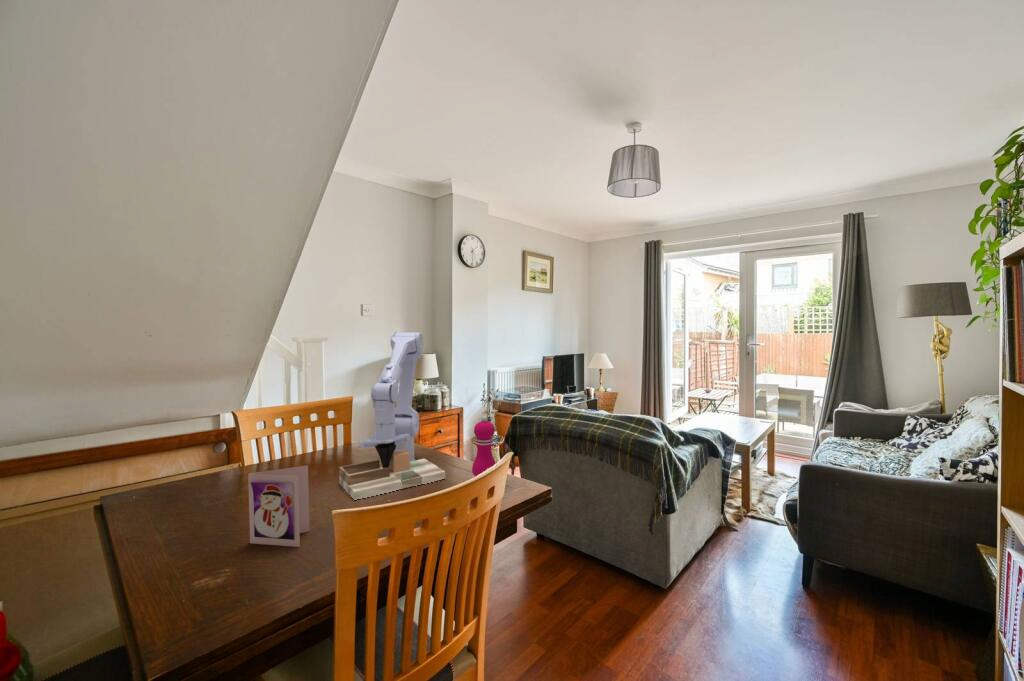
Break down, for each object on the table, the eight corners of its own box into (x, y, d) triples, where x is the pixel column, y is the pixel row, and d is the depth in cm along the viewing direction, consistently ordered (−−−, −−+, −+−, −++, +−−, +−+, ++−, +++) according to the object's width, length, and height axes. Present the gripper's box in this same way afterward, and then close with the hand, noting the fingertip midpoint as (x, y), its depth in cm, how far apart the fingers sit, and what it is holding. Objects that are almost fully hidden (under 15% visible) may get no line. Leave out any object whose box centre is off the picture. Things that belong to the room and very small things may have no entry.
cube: (388, 468, 131) (388, 451, 131) (404, 465, 134) (403, 449, 134) (394, 472, 127) (394, 456, 127) (410, 469, 130) (410, 453, 130)
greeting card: (247, 545, 91) (245, 475, 90) (271, 528, 98) (269, 463, 97) (297, 549, 89) (295, 477, 88) (317, 531, 96) (316, 465, 96)
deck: (339, 483, 125) (339, 475, 125) (424, 466, 140) (424, 458, 140) (354, 501, 113) (354, 491, 113) (445, 479, 128) (445, 471, 128)
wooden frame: (339, 475, 125) (339, 466, 125) (378, 467, 132) (378, 459, 132) (348, 485, 117) (348, 476, 117) (389, 476, 124) (389, 468, 124)
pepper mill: (498, 480, 128) (498, 413, 127) (495, 489, 121) (494, 418, 120) (474, 479, 128) (474, 413, 128) (469, 488, 121) (469, 418, 120)
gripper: (364, 429, 120) (364, 477, 121) (413, 422, 128) (414, 467, 129) (357, 424, 126) (357, 470, 126) (404, 417, 134) (405, 461, 135)
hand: (385, 468), depth 128 cm, fingers closed
